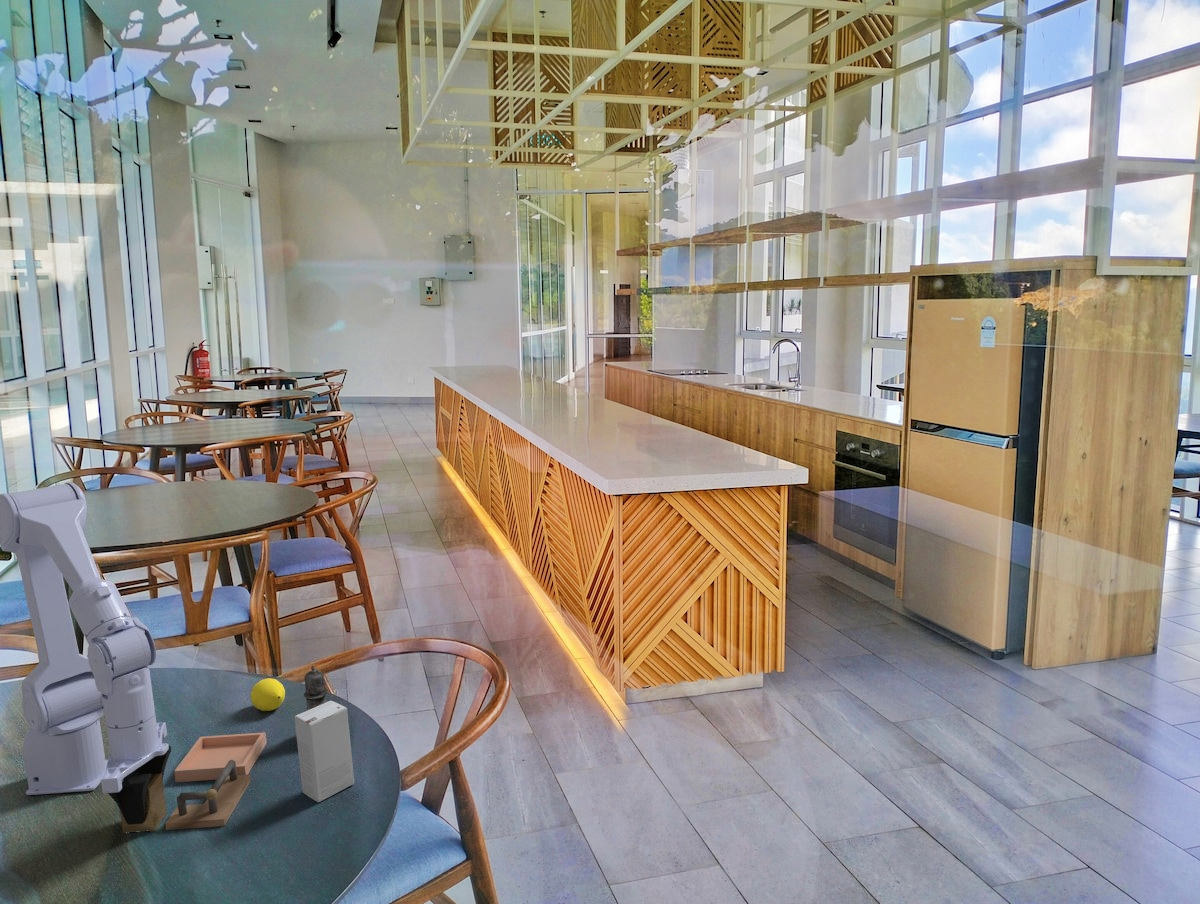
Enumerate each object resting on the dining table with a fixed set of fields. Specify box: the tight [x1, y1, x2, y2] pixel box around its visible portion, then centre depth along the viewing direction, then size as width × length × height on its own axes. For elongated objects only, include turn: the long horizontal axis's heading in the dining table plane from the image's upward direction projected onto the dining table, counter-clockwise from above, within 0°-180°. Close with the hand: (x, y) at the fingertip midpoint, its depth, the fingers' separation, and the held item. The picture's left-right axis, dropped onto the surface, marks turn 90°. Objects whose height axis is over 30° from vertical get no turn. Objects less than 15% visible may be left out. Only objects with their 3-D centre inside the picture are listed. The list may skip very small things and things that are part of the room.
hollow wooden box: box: [119, 773, 168, 834], centre depth 115 cm, size 4×4×6 cm
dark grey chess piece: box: [303, 665, 328, 711], centre depth 137 cm, size 6×6×12 cm
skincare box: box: [294, 700, 355, 803], centre depth 121 cm, size 6×4×12 cm
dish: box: [173, 731, 268, 783], centre depth 131 cm, size 10×10×2 cm
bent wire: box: [164, 760, 252, 831], centre depth 120 cm, size 8×11×4 cm
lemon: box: [249, 677, 286, 712], centre depth 147 cm, size 7×5×5 cm
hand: (144, 812), depth 116 cm, fingers closed on hollow wooden box, 4 cm apart
